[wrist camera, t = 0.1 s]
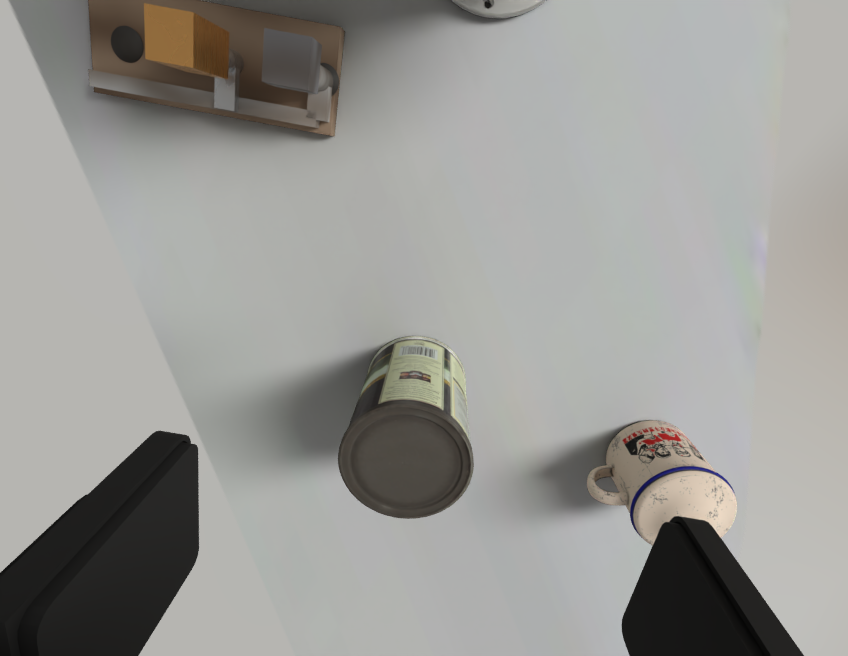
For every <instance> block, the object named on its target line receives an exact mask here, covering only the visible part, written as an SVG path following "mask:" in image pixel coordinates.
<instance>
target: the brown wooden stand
mask: <svg viewBox="0 0 848 656" xmlns="http://www.w3.org/2000/svg"><path fill="white" fill-rule="evenodd" d="M88 3H89V19H90V35H91V51H92V67H93V70H89V69H88V70H89V86H93V87H94V92H97V93H102V94H108V95H113V96H118V97H124V98H129V99H135V100H140V101H146V102H151V103H156V104H162V105H167V106H173V107H178V108H184V109H189V110H194V111H200V112H205V113H211V114H216V115H222V116H227V117H232V118H238V119H243V120H249V121H254V122H259V123H265V124H270V125H276V126H281V127H287V128H292V129H297V130H303V131H308V132H314V133H319V134H325V135H330V136H334V135H335V125H336V115H337V105H338V95H339V85H340V75H341V65H342V55H343V44H344V34H345V31H344V30H343V29H342V28H341V27H339V26H333V25H328V24H323V23H317V22H312V21H306V20H301V19H296V18H290V17H285V16H280V15H274V14H269V13H264V12H258V11H253V10H248V9H242V8H237V7H232V6H226V5H221V4H216V3H210V2H205V1H200V0H88ZM144 3H146V4H152V5H157V6H162V7H168V8H173V9H178V10H184V11H189V12H194V13H196V14H197V15H199V16H201V17H203V18H205V19H206V20H208V21H210V22H212V23H214V24H215V25H217V26H219V27H221V28H223V29H224V30H226V31H228V32H230V33H229V48H231V49H233V50H235V51H237V52H238V53H239V54H240V55H241V56H242V58H243V61H244V68H243V70H242V72H241V73H240V80H239V110H238V112H236V111H230V110H225V109H219V108H214V88H215V77H211V76H206V75H200V74H195V73H190V72H185V71H182V70H179V69H176V68H173V67H169V66H166V65H163V64H160V63H157V62H153V61H150V60H147V59H145V25H144Z"/></svg>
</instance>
